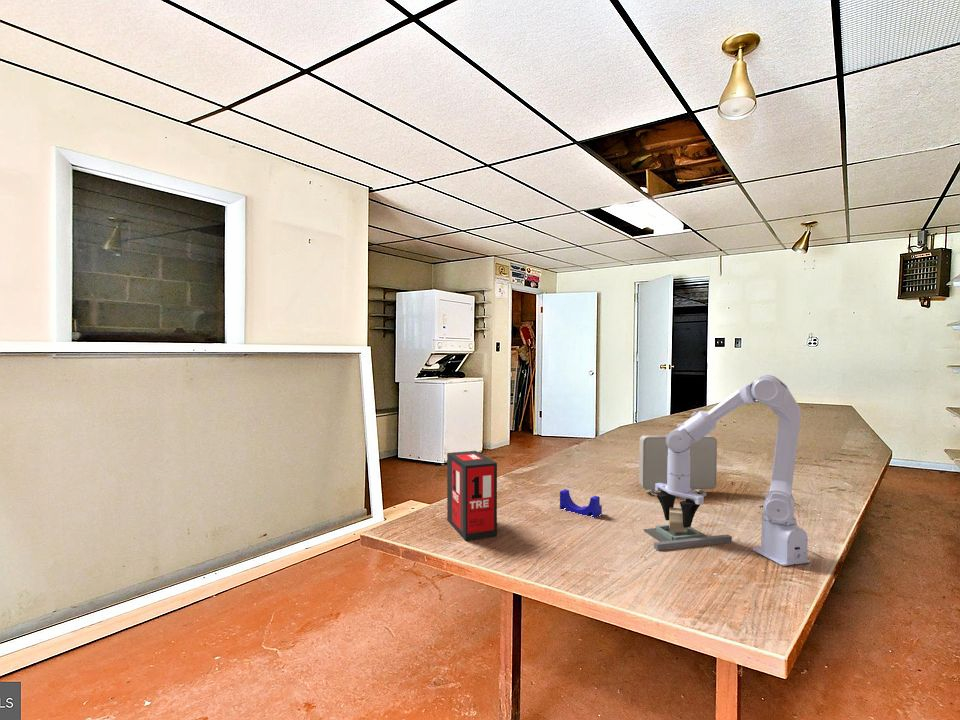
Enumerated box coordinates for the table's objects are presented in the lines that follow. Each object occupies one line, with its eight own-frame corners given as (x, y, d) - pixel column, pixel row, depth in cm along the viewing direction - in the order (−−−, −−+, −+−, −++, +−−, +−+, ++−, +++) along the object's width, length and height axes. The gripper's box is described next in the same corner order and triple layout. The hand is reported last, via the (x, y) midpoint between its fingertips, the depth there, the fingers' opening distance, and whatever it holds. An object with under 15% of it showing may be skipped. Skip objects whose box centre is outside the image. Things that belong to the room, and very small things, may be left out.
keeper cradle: (714, 541, 132) (714, 535, 132) (667, 546, 129) (667, 540, 129) (687, 526, 143) (687, 521, 143) (643, 530, 140) (643, 525, 140)
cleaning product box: (496, 536, 135) (496, 463, 135) (465, 541, 132) (465, 465, 131) (475, 516, 151) (475, 450, 150) (447, 520, 148) (447, 452, 147)
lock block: (685, 532, 133) (686, 513, 133) (669, 530, 135) (669, 511, 134) (684, 526, 137) (685, 508, 137) (669, 525, 138) (669, 507, 138)
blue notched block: (601, 515, 153) (601, 495, 153) (594, 519, 149) (594, 499, 149) (567, 506, 161) (567, 488, 160) (559, 510, 157) (559, 491, 157)
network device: (645, 497, 170) (645, 438, 169) (636, 489, 179) (636, 433, 178) (719, 496, 171) (720, 438, 170) (707, 489, 180) (707, 433, 179)
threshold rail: (731, 542, 132) (731, 536, 132) (657, 550, 126) (657, 544, 126) (727, 539, 133) (727, 534, 133) (654, 548, 128) (654, 542, 128)
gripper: (712, 478, 131) (711, 529, 131) (667, 465, 144) (667, 512, 144) (693, 481, 128) (692, 534, 128) (649, 468, 140) (649, 516, 141)
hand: (677, 523), depth 136 cm, fingers closed on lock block, 5 cm apart
